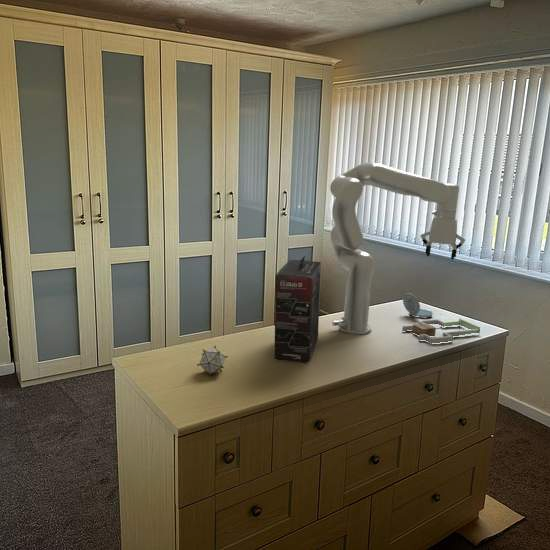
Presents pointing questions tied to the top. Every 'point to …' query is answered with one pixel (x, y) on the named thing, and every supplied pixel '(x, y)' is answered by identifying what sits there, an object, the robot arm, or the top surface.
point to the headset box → (297, 310)
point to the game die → (212, 360)
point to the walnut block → (424, 329)
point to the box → (446, 335)
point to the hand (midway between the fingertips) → (440, 257)
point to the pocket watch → (414, 306)
